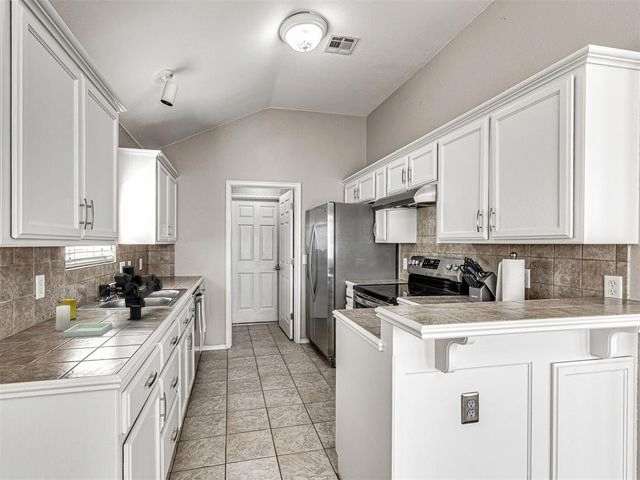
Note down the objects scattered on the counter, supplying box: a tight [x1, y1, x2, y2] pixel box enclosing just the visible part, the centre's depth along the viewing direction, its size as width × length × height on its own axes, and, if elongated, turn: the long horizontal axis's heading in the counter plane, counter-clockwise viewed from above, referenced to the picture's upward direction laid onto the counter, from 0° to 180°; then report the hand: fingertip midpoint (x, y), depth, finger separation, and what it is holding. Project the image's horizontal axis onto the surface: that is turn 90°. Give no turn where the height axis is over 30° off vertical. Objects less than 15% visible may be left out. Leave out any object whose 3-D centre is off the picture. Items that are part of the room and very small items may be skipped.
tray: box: [62, 322, 113, 338], centre depth 167 cm, size 15×15×2 cm
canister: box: [55, 305, 71, 332], centre depth 172 cm, size 6×6×11 cm
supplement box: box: [57, 298, 77, 321], centre depth 191 cm, size 6×6×11 cm
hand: (110, 296), depth 171 cm, fingers open, 9 cm apart
